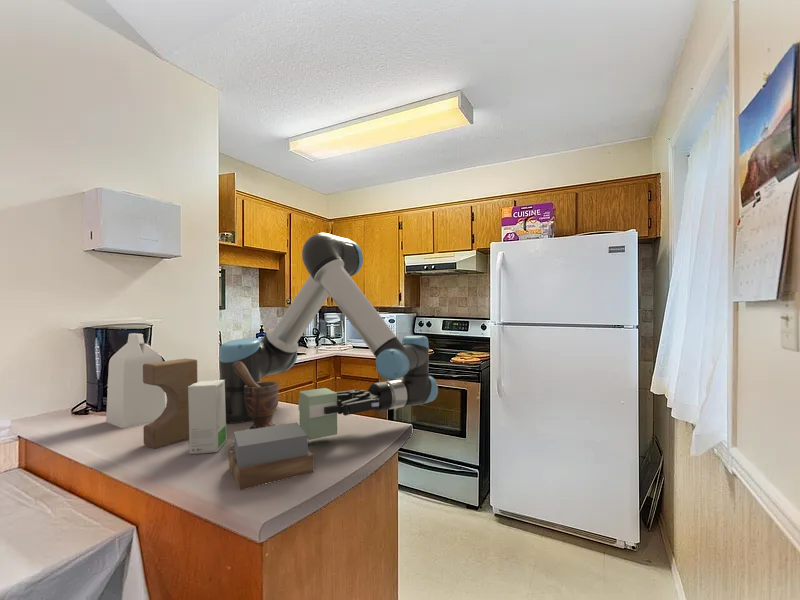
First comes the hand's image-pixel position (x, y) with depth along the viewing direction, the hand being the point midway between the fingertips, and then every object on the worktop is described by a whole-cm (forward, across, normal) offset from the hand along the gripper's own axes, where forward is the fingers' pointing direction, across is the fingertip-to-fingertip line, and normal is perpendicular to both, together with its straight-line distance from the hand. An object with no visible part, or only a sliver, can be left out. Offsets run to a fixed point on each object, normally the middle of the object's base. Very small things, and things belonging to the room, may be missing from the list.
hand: (304, 408), depth 95 cm
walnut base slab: (+10, -10, -10) cm, 17 cm away
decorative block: (+27, +23, -10) cm, 37 cm away
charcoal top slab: (+11, -10, -6) cm, 15 cm away
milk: (+35, +51, -10) cm, 63 cm away
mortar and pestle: (+8, +14, -9) cm, 19 cm away
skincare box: (+20, +12, -9) cm, 25 cm away
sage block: (-3, 0, -7) cm, 7 cm away
